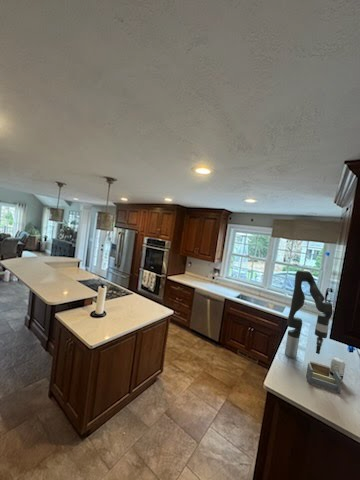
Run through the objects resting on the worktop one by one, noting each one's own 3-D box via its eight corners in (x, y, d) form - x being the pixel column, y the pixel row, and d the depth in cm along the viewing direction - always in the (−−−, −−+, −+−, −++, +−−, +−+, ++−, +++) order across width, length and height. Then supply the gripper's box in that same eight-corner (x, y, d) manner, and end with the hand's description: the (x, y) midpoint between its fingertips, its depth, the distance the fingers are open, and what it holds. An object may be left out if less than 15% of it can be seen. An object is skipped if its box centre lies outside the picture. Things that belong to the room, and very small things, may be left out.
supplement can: (327, 374, 162) (330, 355, 161) (340, 378, 159) (343, 358, 158) (330, 380, 154) (333, 360, 154) (344, 384, 151) (347, 364, 151)
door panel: (308, 372, 161) (310, 361, 161) (327, 378, 156) (328, 366, 156) (309, 374, 158) (311, 362, 158) (328, 380, 154) (330, 368, 154)
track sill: (306, 376, 155) (308, 362, 155) (334, 385, 149) (337, 371, 149) (308, 383, 147) (310, 369, 147) (339, 393, 141) (341, 379, 140)
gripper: (316, 325, 161) (313, 345, 162) (314, 330, 150) (311, 352, 150) (328, 328, 157) (324, 350, 157) (327, 334, 145) (323, 357, 146)
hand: (318, 351), depth 154 cm, fingers open, 8 cm apart
